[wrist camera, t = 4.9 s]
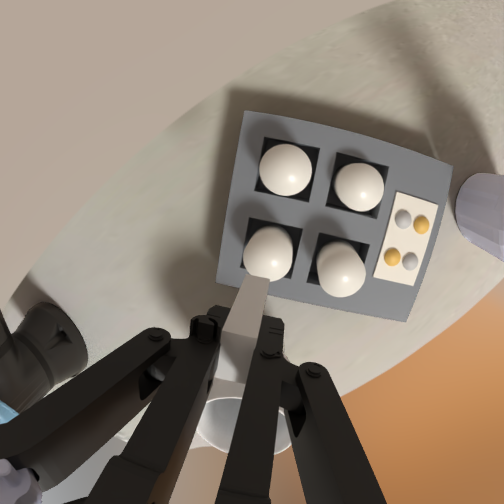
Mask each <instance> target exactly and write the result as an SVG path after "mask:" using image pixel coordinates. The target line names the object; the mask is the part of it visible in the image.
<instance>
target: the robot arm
mask: <svg viewBox="0 0 504 504" xmlns="http://www.w3.org/2000/svg"><path fill="white" fill-rule="evenodd" d="M269 282H270V279H268V278H263V277H258V276H254V275H249V274H246V275H245V278H244V280H243V282H242V285H241V287H240V289H239V292H238V294H237V296H236V299H235V301H234V303H233V306H232V308H231V309H230V308H226V307H222V306H217V305H215V306H213V307H212V308H210V309H209V311H208V312H207V315H199V316H196V317H193V318H192V319H191V324H190V335H189V337H188V338H186V339H173V338H171V335H170V333H169V332H168V331H166V330H165V329H162V328H155V327H153V328H148V329H146V330H144V331H142V332H141V333H139V334H138V335H136V336H135V337H133V338H132V339H130V340H129V341H127V342H126V343H125V344H123V345H122V346H120V347H119V348H117V349H116V350H114V351H113V352H111V353H110V354H108V355H107V356H105V357H104V358H102V359H101V360H99V361H98V362H96V363H95V364H93V365H92V366H90V367H89V368H88V369H86V370H85V371H83V372H82V373H80V372H81V371H82V370H83V369H84V368H85V367H86V365H87V362H88V353H87V349H86V346H85V343H84V341H83V338H82V336H81V335H80V333H79V331H78V330H77V328H76V327H75V325H74V324H73V322H72V321H71V320H70V319H69V318H68V317H67V316H66V315H65V314H64V313H63V312H62V311H61V310H60V309H58V308H57V307H55V306H54V305H52V304H49V303H46V302H41V303H38V304H37V305H35V306H34V307H32V308H31V309H30V310H29V311H28V312H27V314H26V316H25V318H24V320H23V321H22V322H21V324H20V325H19V326H18V328H17V329H16V331H15V332H14V333H12V334H11V333H10V331H9V329H8V326H7V324H6V322H5V319H4V317H3V315H2V312H1V310H0V504H41V503H42V501H41V499H42V492H45V491H47V490H49V489H51V488H53V487H55V486H56V485H58V484H59V483H60V482H62V481H63V480H64V479H66V478H67V477H68V476H69V475H70V474H72V473H73V472H74V471H75V470H76V469H77V468H78V467H80V466H81V465H82V464H83V463H84V462H85V461H86V460H88V459H89V458H90V457H91V456H92V455H93V454H94V453H95V452H97V451H98V450H99V449H100V448H101V447H102V446H103V445H104V444H105V443H107V442H108V441H109V440H110V439H111V438H112V437H113V436H114V435H115V434H116V433H118V432H119V431H120V430H121V429H122V428H123V427H124V426H125V425H126V424H127V423H128V422H129V421H131V420H132V419H133V418H134V417H135V416H136V415H137V414H138V413H139V412H140V411H141V410H142V409H143V408H144V407H145V406H146V405H148V404H149V403H150V402H151V403H150V404H149V406H148V408H147V410H146V411H145V413H144V415H143V417H142V418H141V420H140V422H139V424H138V425H137V427H136V429H135V431H134V432H133V434H132V436H131V438H130V439H129V441H128V443H127V445H126V446H125V448H124V450H123V452H122V453H121V454H120V455H119V456H113V457H112V458H111V459H110V460H109V462H108V463H107V465H106V466H105V468H104V470H103V472H102V473H101V475H100V477H99V478H98V480H97V482H96V483H95V485H94V487H93V489H92V490H91V492H90V494H89V496H88V497H84V498H80V499H77V500H74V501H70V502H67V503H64V504H169V500H170V498H171V495H172V492H173V490H174V487H175V484H176V482H177V479H178V476H179V474H180V471H181V469H182V466H183V463H184V460H185V458H186V455H187V453H188V450H189V447H190V445H191V442H192V439H193V437H194V434H195V431H196V429H197V426H198V423H199V421H200V418H201V415H202V413H203V410H204V407H205V404H206V402H207V399H208V396H209V394H210V391H211V388H212V386H213V380H214V375H215V377H216V378H220V379H224V380H228V381H232V382H237V383H241V384H246V385H245V389H244V393H243V397H242V401H241V405H240V409H239V413H238V417H237V421H236V425H235V429H234V433H233V437H232V441H231V445H230V449H229V452H228V456H227V460H226V464H225V468H224V472H223V475H222V479H221V483H220V486H219V490H218V493H217V497H216V501H215V504H271V499H270V498H269V489H270V482H271V474H272V467H273V459H274V450H275V442H276V433H277V424H278V414H279V407H281V408H284V415H285V419H286V424H287V428H288V432H289V436H290V440H291V444H292V448H293V452H294V456H295V460H296V464H297V468H298V472H299V476H300V479H301V484H302V488H303V492H304V496H305V499H306V503H307V504H387V503H386V500H385V498H384V496H383V493H382V491H381V489H380V486H379V484H378V482H377V479H376V477H375V475H374V472H373V470H372V468H371V466H370V463H369V461H368V459H367V456H366V454H365V452H364V450H363V447H362V445H361V443H360V441H359V439H358V436H357V434H356V432H355V429H354V427H353V425H352V423H351V420H350V418H349V416H348V414H347V412H346V409H345V407H344V405H343V403H342V401H341V398H340V396H339V394H338V392H337V390H336V387H335V385H334V383H333V381H332V379H331V377H330V374H329V372H328V371H327V369H326V368H325V367H323V366H322V365H320V364H318V363H314V362H305V363H303V364H301V365H300V367H299V366H296V365H294V364H292V363H290V362H288V361H287V360H286V359H285V358H284V355H283V352H282V349H283V337H284V336H283V335H284V323H283V321H282V320H281V319H280V318H275V317H270V316H265V315H263V311H264V306H265V301H266V297H267V292H268V287H269ZM215 373H216V374H215ZM78 374H79V375H78ZM75 376H76V377H75ZM71 377H74V378H73V379H71V380H70V381H68V382H67V383H65V384H64V385H62V386H61V387H59V388H58V389H56V390H55V391H53V392H52V393H50V394H49V395H47V396H46V397H44V396H45V395H46V394H47V393H48V392H49V391H50V390H51V389H52V388H53V387H54V386H55V385H56V384H58V383H60V382H62V381H64V380H66V379H68V378H71ZM43 397H44V398H43ZM42 398H43V399H42Z"/></svg>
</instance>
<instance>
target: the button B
mask: <svg viewBox="0 0 504 504" xmlns="http://www.w3.org/2000/svg"><path fill="white" fill-rule="evenodd" d="M259 172H260V177H261V180H262V182H263V183H264V185H265V186H266V187H267V188H268V189H269V190H270V191H272V192H273V193H275V194H278V195H283V196H289V195H294V194H297V193H299V192H300V191H302V190H303V189H304V188H305V187H306V186H307V184H308V183H309V181H310V178H311V174H312V167H311V162H310V160H309V158H308V156H307V155H306V154H305V152H304V151H302V150H301V149H300V148H298V147H296V146H293V145H289V144H281V145H277V146H274V147H272V148H271V149H269V150H268V151H267V152H266V153H265V154H264V156H263V157H262V160H261V162H260V167H259Z"/></svg>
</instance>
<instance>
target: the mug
mask: <svg viewBox="0 0 504 504" xmlns="http://www.w3.org/2000/svg"><path fill="white" fill-rule="evenodd" d="M283 355H284V358H285V359H286V360H287V361H288V362H290V361H289V360H288V357H287V356H286V355H285V354H284V353H283ZM215 374H216V373H215ZM245 385H246V384H241V383H237V382H232V381H228V380H224V379H220V378H216V377H215V375H214V380H213V386H212V388H211V391H210V394H209V396H208V399H207V402H206V404H205V407H204V410H203V413H202V415H201V418H200V421H199V423H198V426H197V429H196V431H197V432H198V434H199V435H200V436H201V437H202V438H203V439H204V440H205V441H206V442H208V443H209V444H210V445H212V446H214V447H216V448H217V449H219V450H221V451H223V452H226V453H228V452H229V449H230V445H231V441H232V437H233V433H234V429H235V425H236V421H237V417H238V413H239V409H240V405H241V401H242V397H243V393H244V389H245ZM290 445H291V440H290V436H289V432H288V428H287V424H286V419H285V415H284V408H281V407H279V414H278V424H277V433H276V442H275V450H274V455H275V454H277V453H280V452H282V451H284V450H285V449H287V448H288V447H289V446H290Z"/></svg>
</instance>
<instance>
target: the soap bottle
mask: <svg viewBox="0 0 504 504" xmlns="http://www.w3.org/2000/svg"><path fill="white" fill-rule="evenodd" d="M455 213H456V219H457V224H458V226H459V229H460V231H461V233H462V235H463V236H464V237H465V238H466V239H467V240H468V241H469V242H471V243H473V244H474V245H476V246H478V247H480V248H481V249H483V250H485V251H487V252H488V253H490V254H492V255H493V256H495V257H497V258H498V259H500V260H501V261H503V262H504V175H497V174H490V173H476V174H474V175H473V176H471V177H469V178H468V179H467V180H466V181H465V183H464V184H463V185H462V186H461V188H460V191H459V193H458V196H457V199H456V209H455Z"/></svg>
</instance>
